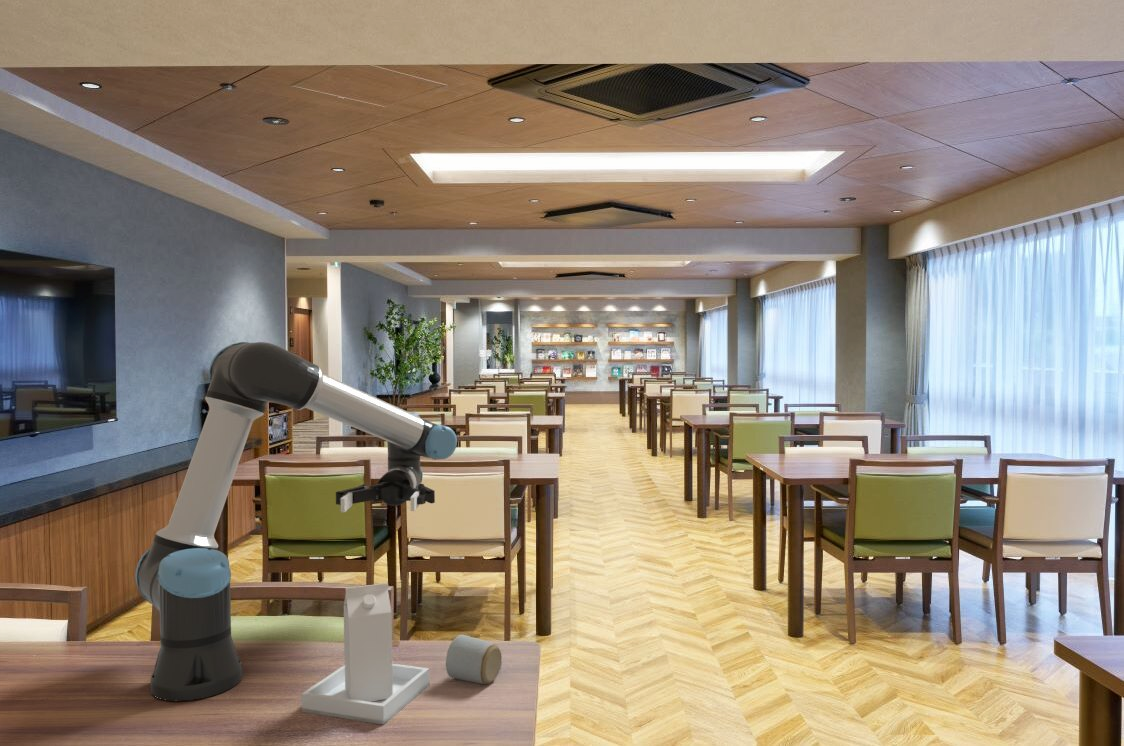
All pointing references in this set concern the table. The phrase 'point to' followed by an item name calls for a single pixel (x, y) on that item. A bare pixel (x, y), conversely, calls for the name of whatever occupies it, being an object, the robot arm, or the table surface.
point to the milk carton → (368, 643)
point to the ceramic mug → (473, 660)
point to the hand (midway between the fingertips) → (377, 504)
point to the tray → (334, 701)
